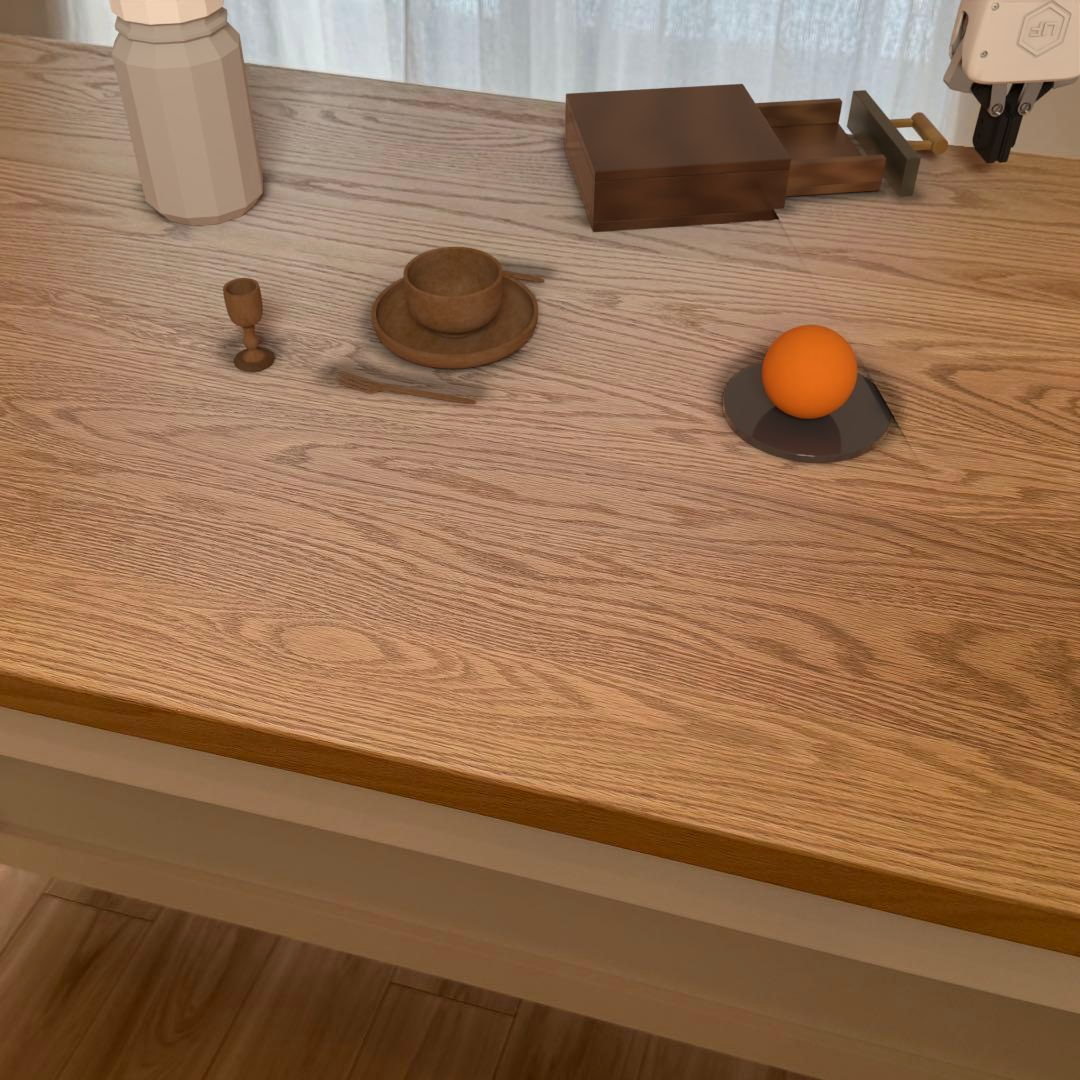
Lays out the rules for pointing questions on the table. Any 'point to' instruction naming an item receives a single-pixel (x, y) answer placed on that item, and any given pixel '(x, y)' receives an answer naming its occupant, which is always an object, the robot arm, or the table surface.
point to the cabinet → (674, 157)
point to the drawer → (848, 145)
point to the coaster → (805, 421)
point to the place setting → (423, 315)
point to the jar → (187, 108)
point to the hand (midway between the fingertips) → (989, 155)
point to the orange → (809, 371)
